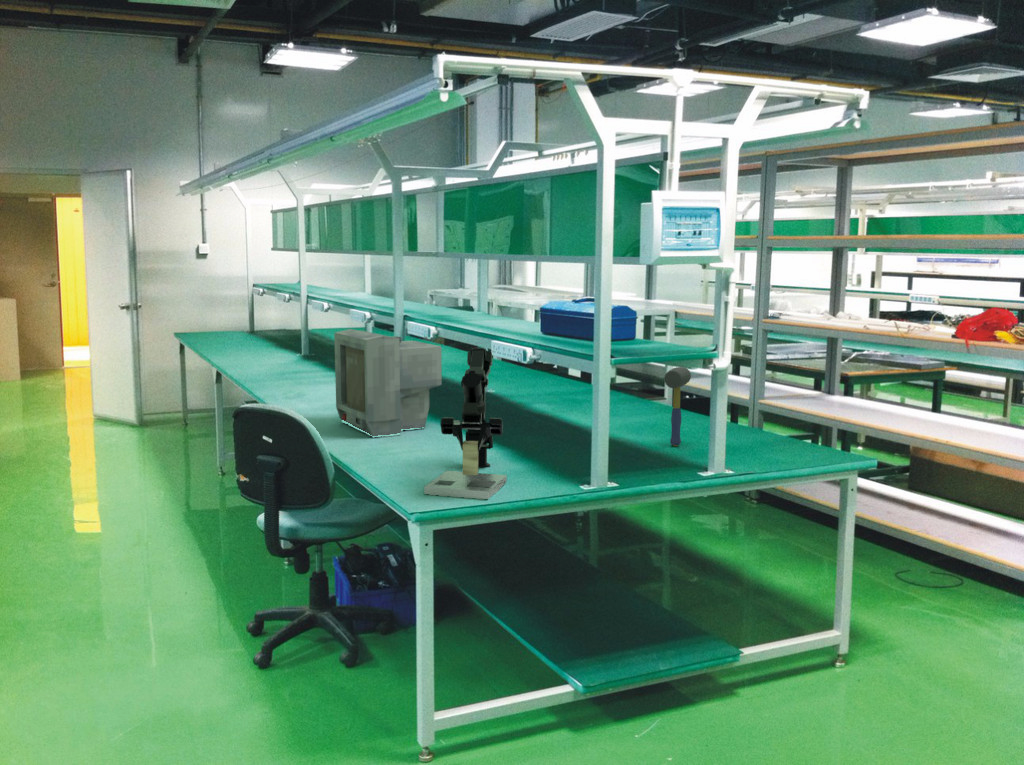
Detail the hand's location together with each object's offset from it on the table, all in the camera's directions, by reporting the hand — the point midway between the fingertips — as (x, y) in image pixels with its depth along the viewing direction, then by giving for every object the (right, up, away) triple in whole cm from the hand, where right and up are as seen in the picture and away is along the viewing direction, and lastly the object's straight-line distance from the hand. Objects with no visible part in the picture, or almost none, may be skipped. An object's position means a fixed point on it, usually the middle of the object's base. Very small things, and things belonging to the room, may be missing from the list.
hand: (470, 449), depth 259 cm
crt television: (-37, +1, +103) cm, 109 cm away
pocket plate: (-1, -13, +7) cm, 15 cm away
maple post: (0, -7, +2) cm, 8 cm away
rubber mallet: (+74, -4, +69) cm, 101 cm away
